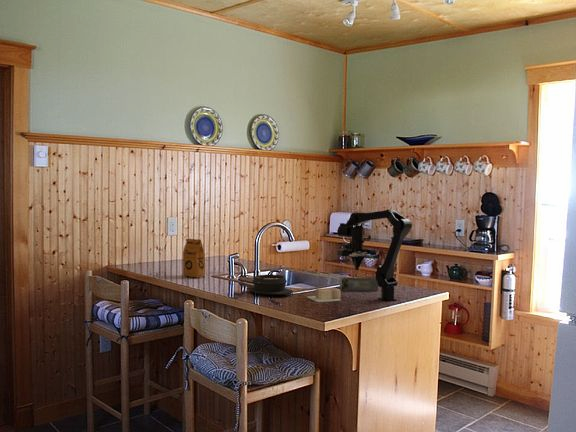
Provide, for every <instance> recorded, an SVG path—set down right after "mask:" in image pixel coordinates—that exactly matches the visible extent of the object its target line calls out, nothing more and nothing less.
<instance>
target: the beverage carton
mask: <svg viewBox="0 0 576 432" xmlns="http://www.w3.org/2000/svg"><path fill="white" fill-rule="evenodd" d="M339 288H340V289H339V290H341V292H342V291H345V292H346V291H348V292H349V291H350V292H351V291H352V292H353V291H354V292H355V291H356V292H358V291H359V292H361V291H362V292H363V291H364V292H365V291H366V292H368V291H369V292H370V291H371V292H377V291H379V286H378V282H377V280H376V278H375V277H374V276H365V277H361V276H360V277H354V276H353V277H352V276H351V277H345V276H344V277H343V276H342V277H340V278H339Z"/></svg>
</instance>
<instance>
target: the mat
mask: <svg viewBox="0 0 576 432" xmlns="http://www.w3.org/2000/svg"><path fill="white" fill-rule="evenodd" d="M306 298H307V299H310V300H312V301H314V302H316V303H326V302H327V303H329V302H342V299H326V300H320V299H318V298H316V295H312V296H307V297H306Z"/></svg>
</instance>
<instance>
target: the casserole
mask: <svg viewBox="0 0 576 432" xmlns="http://www.w3.org/2000/svg"><path fill="white" fill-rule="evenodd" d="M252 283H253V286H248V287H246V288H245V289H246V290H247V291H251V292H252V293H255V294H257V295H259V296H269V297H272V296H273V297H274V296H279V295H280V296H281V295H289V294H292V293H294V290H293V289H290V288H287V287H286V284H287V283H288V282H287V279H286V277H285V276H284V275H281V274H280V275H279V274H259V275H254V278H253V279H252Z"/></svg>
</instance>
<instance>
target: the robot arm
mask: <svg viewBox="0 0 576 432" xmlns="http://www.w3.org/2000/svg"><path fill="white" fill-rule="evenodd" d="M382 219H383V220H384V219H387V220H388V222H389V224H390V225H391V226H393V227H392V238H391V239H392V240H391V242H390V244H389V247H388V250H387V253H386V256H385V258H384V260H383V263H382V264H381V265H377V267H376V271H375V272H374V274H375V278H376V280H377V282H378V288H380V297H378V299H379V300H381V301H384V302H388V301H389V302H390V301H397V300H398V299H397V298H396V297H395V287H397V286H398V283H399V282H398V280H397V278H396V277H395V268H394V267H395V263H396V261H397V259H398V255H399V252H400V250H401V247H402V244H403V241H404V239H405V238H406V237H407V235H408V234H409V233H410V231H411V229H412V227H413V223H412V222H411V220H410V219H408V218H406V217H405V216H404V215H401V214H400V213H398V211H396V210H395V209H392V208H391V209H389V208H388V209H384V210H379V211H373V212H371V211H370V212H362V211H359V212H352V213H350V216H349V218H348V219H347V222H346V223H345V222H341V223H339V226H338V228H337V230H336V231H337V232H336V234H337V235H338V237H341V238H351V239H350V240H349V243H348V242H347V241H346V242H345V241H344V242H342V249H341V248H339V249H338V250H337V256H340V257H349V258H350V259H351V261H352V263H353V267H354V270H355V271H359V269H360V266H361V264H362V262H363V261H364V259H365V258H367V255H370V256H376V255H377V250H376V249H374V248H364V243H365V240H364V230H367V229H368V227H367V226H366V225H365V224H366V223H368V222H371V221H374V220H375V221H376V220H382Z"/></svg>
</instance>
